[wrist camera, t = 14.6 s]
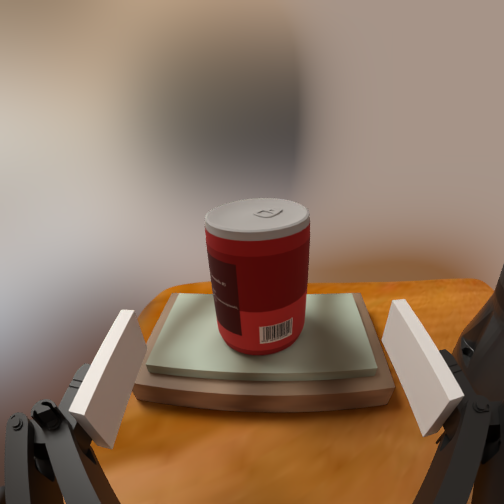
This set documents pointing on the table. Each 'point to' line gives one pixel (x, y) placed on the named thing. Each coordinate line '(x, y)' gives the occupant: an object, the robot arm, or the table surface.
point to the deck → (266, 361)
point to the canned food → (259, 272)
